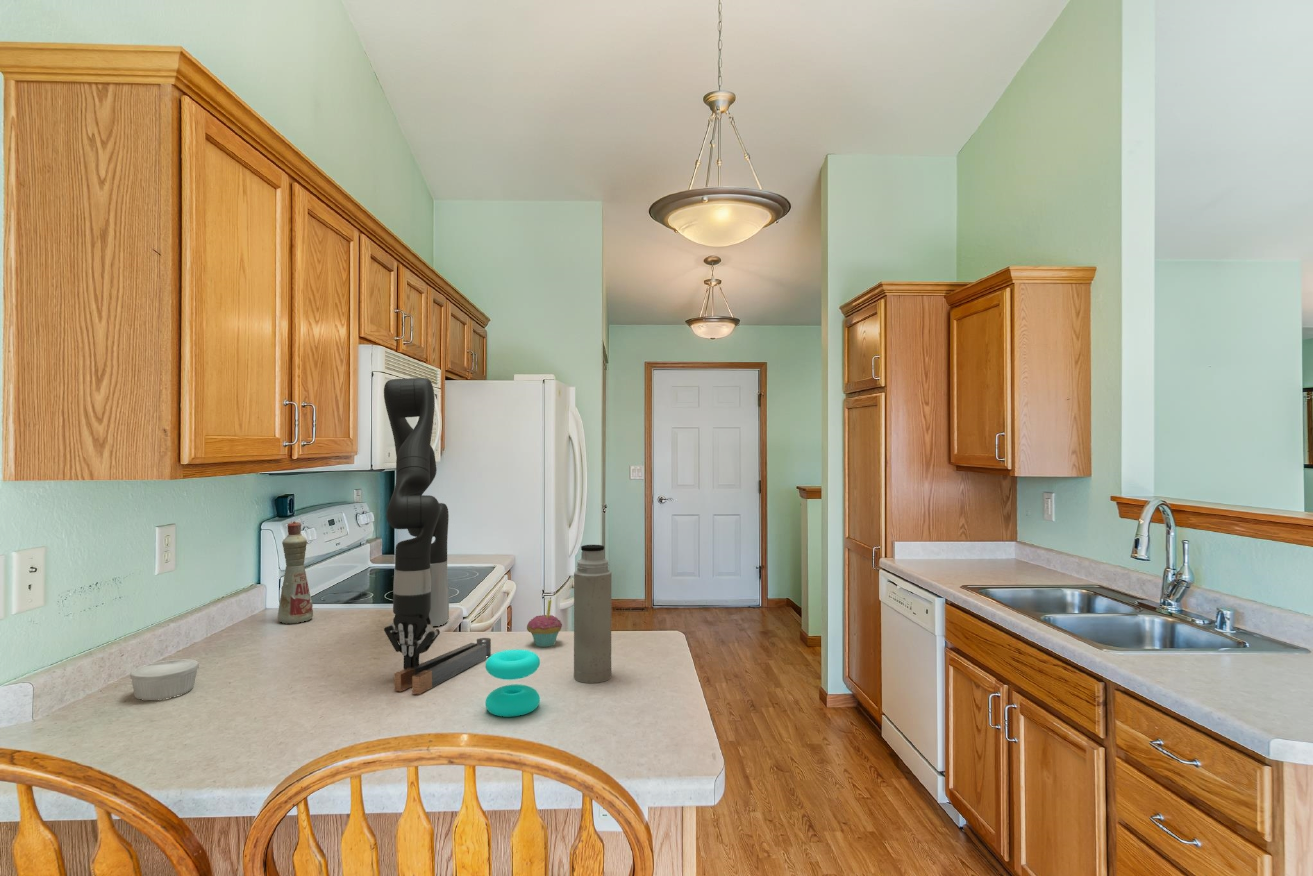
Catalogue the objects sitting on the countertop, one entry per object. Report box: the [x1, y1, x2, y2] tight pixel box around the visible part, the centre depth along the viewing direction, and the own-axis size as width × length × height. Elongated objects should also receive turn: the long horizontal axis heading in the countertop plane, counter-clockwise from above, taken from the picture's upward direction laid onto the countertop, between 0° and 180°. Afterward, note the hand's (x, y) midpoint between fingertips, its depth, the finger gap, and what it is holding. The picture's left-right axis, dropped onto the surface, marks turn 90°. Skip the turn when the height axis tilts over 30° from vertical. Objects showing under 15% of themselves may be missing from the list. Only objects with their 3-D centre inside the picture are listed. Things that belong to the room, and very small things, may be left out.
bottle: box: [277, 520, 314, 624], centre depth 194 cm, size 9×9×28 cm
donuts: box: [485, 649, 541, 718], centre depth 130 cm, size 10×10×10 cm
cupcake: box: [526, 596, 563, 648], centre depth 171 cm, size 9×8×12 cm
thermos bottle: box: [573, 544, 612, 684], centre depth 147 cm, size 8×8×28 cm
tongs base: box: [411, 637, 492, 695], centre depth 150 cm, size 28×4×4 cm, turn 161°
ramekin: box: [129, 658, 200, 700], centre depth 138 cm, size 11×11×5 cm
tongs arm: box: [393, 642, 477, 693], centre depth 149 cm, size 24×2×3 cm, turn 157°
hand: (411, 672), depth 145 cm, fingers closed
